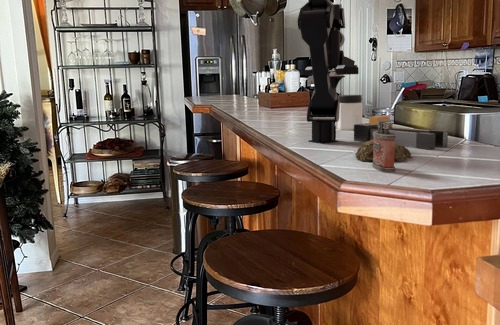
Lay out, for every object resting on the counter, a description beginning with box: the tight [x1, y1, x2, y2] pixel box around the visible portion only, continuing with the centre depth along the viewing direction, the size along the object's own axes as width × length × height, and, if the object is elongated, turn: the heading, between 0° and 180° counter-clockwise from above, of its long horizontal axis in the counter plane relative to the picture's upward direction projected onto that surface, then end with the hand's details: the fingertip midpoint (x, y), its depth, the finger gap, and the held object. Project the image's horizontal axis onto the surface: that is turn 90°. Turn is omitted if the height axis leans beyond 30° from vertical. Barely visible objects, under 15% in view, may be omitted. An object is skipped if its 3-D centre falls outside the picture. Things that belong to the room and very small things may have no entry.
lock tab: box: [368, 115, 391, 125], centre depth 138 cm, size 5×3×2 cm, turn 123°
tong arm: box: [389, 126, 449, 149], centre depth 131 cm, size 2×19×4 cm, turn 38°
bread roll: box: [354, 140, 412, 163], centre depth 112 cm, size 13×12×5 cm
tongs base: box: [353, 122, 436, 151], centre depth 132 cm, size 9×25×5 cm, turn 33°
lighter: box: [371, 120, 396, 174], centre depth 100 cm, size 8×3×10 cm, turn 5°
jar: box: [337, 94, 363, 131], centre depth 172 cm, size 9×8×12 cm
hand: (330, 98), depth 151 cm, fingers closed
